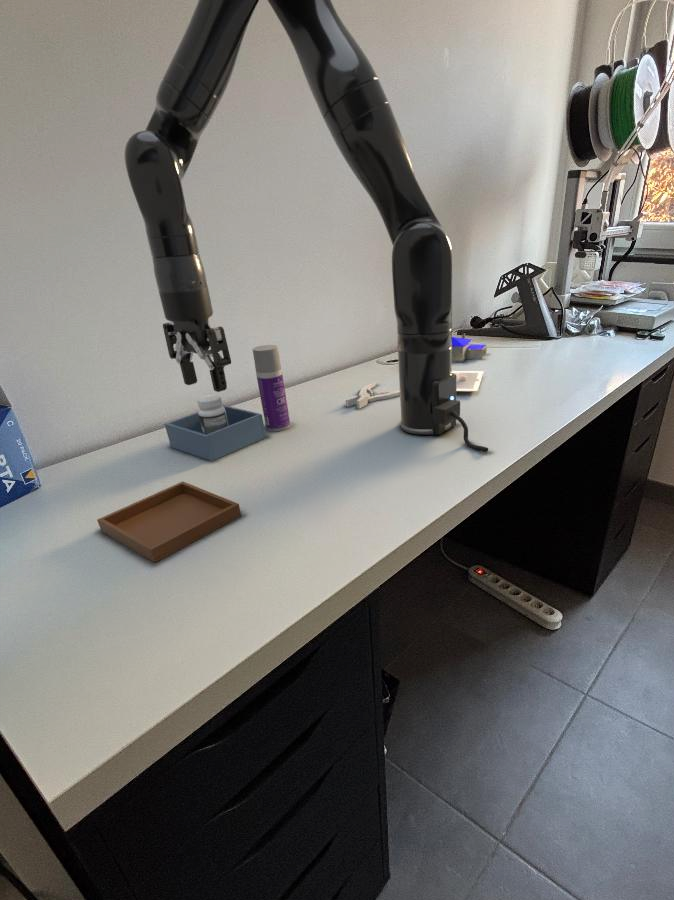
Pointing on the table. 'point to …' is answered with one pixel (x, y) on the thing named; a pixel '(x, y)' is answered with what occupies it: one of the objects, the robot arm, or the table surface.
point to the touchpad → (468, 380)
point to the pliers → (365, 397)
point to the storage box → (216, 434)
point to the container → (271, 387)
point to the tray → (169, 520)
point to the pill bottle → (212, 414)
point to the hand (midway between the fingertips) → (205, 387)
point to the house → (466, 349)
